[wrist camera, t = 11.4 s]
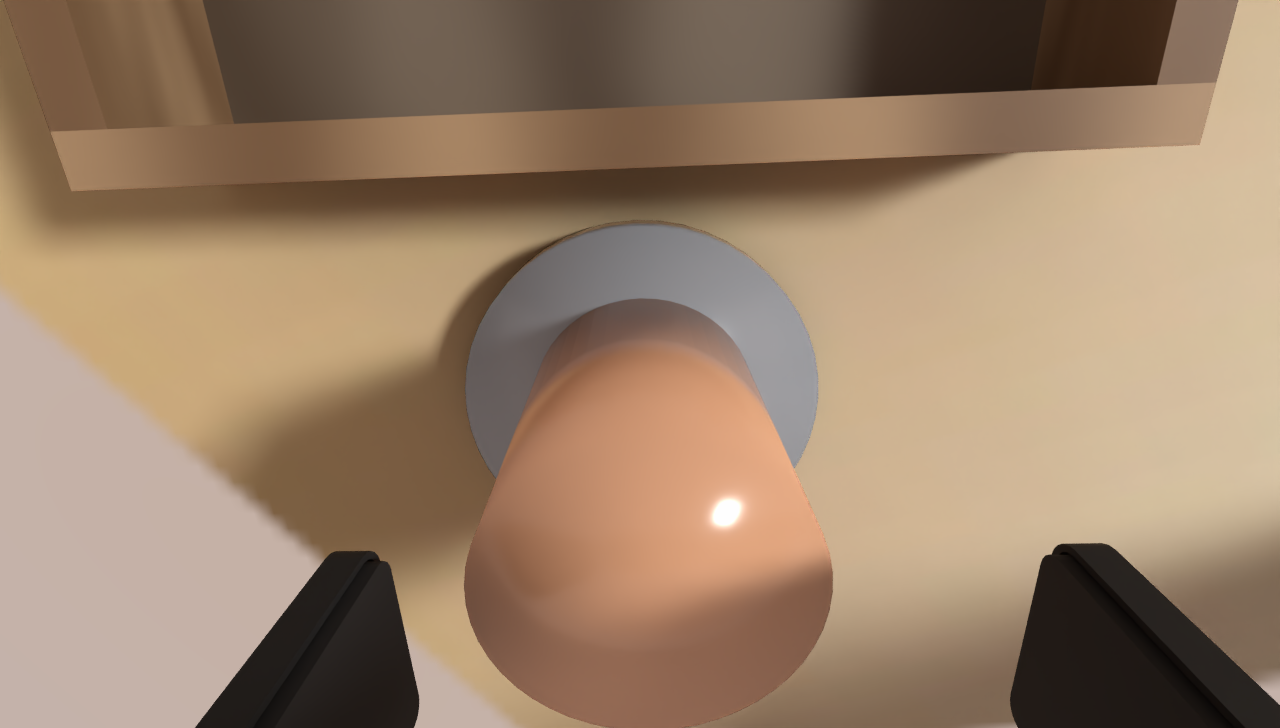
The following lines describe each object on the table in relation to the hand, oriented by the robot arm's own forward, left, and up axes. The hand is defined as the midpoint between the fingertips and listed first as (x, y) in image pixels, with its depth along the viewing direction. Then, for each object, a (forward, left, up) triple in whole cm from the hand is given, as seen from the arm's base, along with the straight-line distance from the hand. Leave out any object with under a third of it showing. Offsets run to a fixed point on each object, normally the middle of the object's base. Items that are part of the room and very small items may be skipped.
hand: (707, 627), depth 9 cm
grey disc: (+1, 0, -9) cm, 9 cm away
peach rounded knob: (+1, 0, -8) cm, 8 cm away
